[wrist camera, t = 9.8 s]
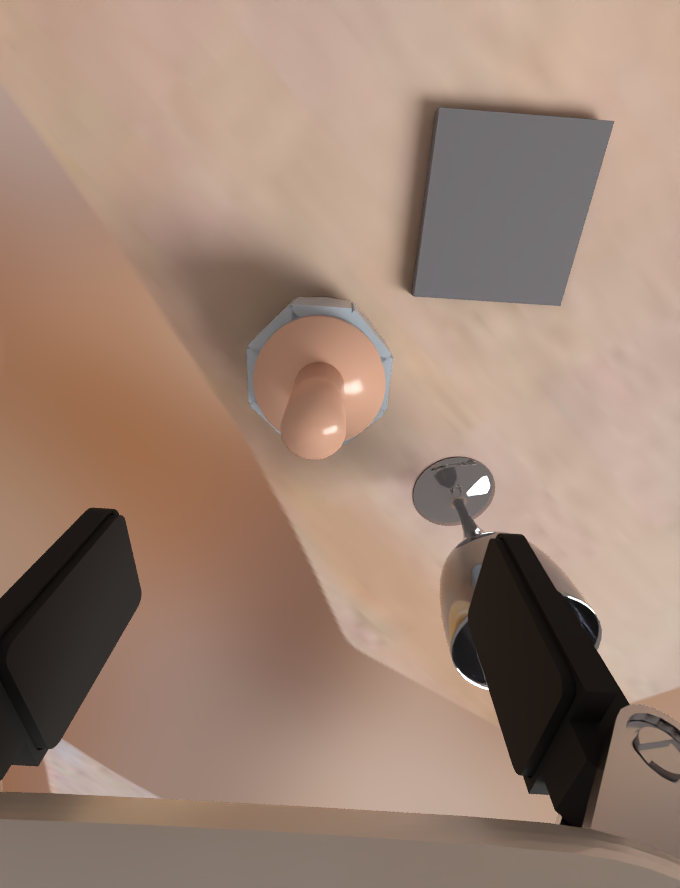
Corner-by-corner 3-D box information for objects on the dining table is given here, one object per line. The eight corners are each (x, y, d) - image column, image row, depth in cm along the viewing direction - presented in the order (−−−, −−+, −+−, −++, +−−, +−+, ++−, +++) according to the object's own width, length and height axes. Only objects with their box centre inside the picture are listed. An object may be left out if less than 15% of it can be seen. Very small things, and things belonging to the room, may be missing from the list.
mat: (603, 125, 23) (614, 121, 23) (553, 303, 28) (560, 305, 27) (435, 112, 23) (439, 107, 22) (411, 294, 28) (413, 296, 27)
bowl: (389, 300, 28) (398, 311, 23) (375, 419, 32) (382, 448, 27) (259, 292, 28) (244, 301, 23) (262, 413, 32) (250, 441, 27)
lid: (390, 318, 24) (411, 348, 17) (376, 440, 27) (389, 507, 20) (254, 310, 23) (218, 337, 16) (258, 434, 27) (230, 499, 20)
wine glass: (392, 478, 34) (427, 628, 21) (480, 436, 32) (579, 571, 19) (430, 541, 37) (482, 707, 24) (512, 506, 36) (617, 664, 22)
